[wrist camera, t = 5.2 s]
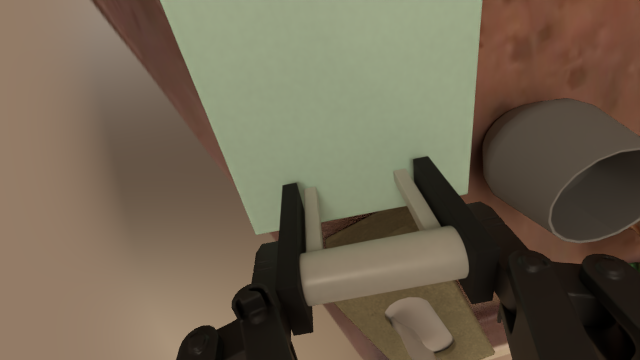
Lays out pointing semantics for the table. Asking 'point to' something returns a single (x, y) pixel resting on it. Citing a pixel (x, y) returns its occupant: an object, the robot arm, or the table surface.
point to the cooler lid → (341, 122)
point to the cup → (565, 168)
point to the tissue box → (412, 305)
